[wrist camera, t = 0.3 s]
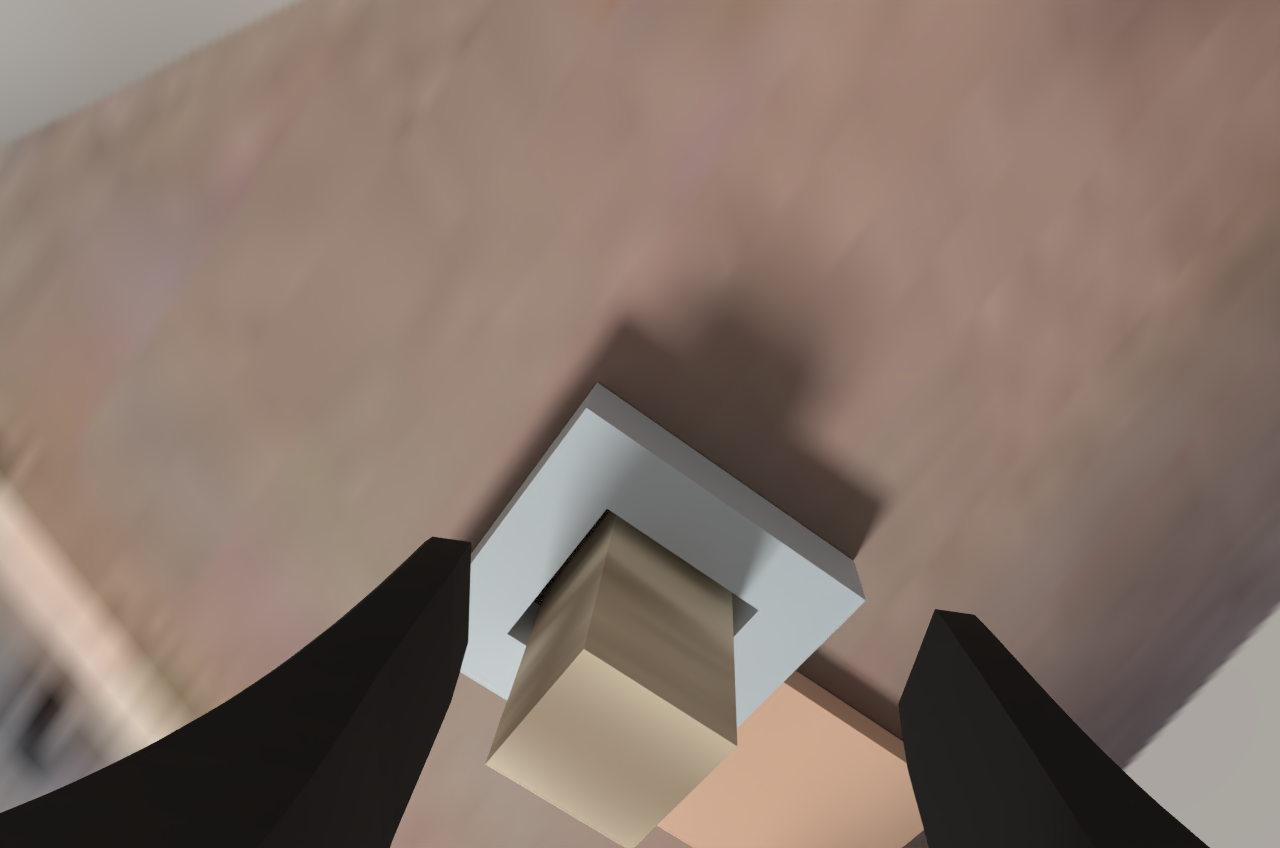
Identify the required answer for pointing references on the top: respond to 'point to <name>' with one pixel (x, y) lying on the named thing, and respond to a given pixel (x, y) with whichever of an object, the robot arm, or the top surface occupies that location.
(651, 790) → the birch block
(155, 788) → the robot arm
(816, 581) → the board
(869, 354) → the top surface
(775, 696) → the terracotta tile
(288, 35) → the top surface
